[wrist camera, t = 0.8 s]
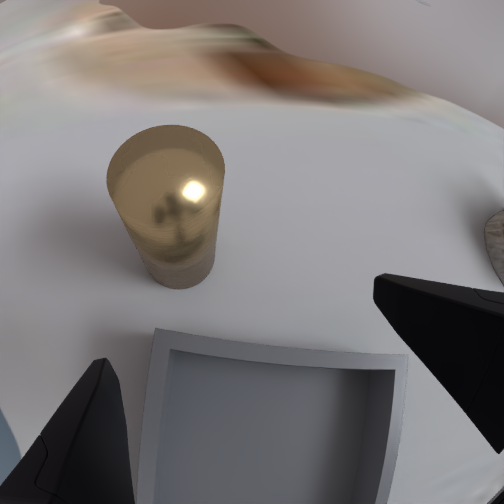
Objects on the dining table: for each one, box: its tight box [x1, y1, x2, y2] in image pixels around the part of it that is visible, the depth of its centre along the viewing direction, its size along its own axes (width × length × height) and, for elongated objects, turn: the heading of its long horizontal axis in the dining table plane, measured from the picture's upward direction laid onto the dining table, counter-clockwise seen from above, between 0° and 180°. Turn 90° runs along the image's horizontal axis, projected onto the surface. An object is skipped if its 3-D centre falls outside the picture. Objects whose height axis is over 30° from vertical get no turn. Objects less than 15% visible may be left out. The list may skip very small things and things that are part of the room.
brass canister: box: [107, 125, 225, 289], centre depth 18 cm, size 5×5×11 cm
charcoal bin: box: [136, 328, 408, 504], centre depth 17 cm, size 16×16×4 cm
